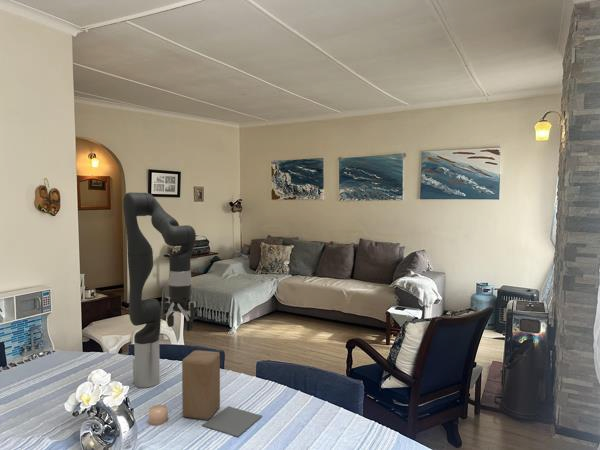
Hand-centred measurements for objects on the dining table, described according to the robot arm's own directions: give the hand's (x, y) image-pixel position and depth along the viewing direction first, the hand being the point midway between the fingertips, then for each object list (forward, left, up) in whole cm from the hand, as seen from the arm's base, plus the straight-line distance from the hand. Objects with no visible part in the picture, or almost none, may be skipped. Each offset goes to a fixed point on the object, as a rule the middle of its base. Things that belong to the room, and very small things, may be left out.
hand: (179, 328), depth 149 cm
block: (+10, 0, -28) cm, 30 cm away
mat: (+23, 0, -28) cm, 36 cm away
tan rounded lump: (+1, -11, -28) cm, 30 cm away
